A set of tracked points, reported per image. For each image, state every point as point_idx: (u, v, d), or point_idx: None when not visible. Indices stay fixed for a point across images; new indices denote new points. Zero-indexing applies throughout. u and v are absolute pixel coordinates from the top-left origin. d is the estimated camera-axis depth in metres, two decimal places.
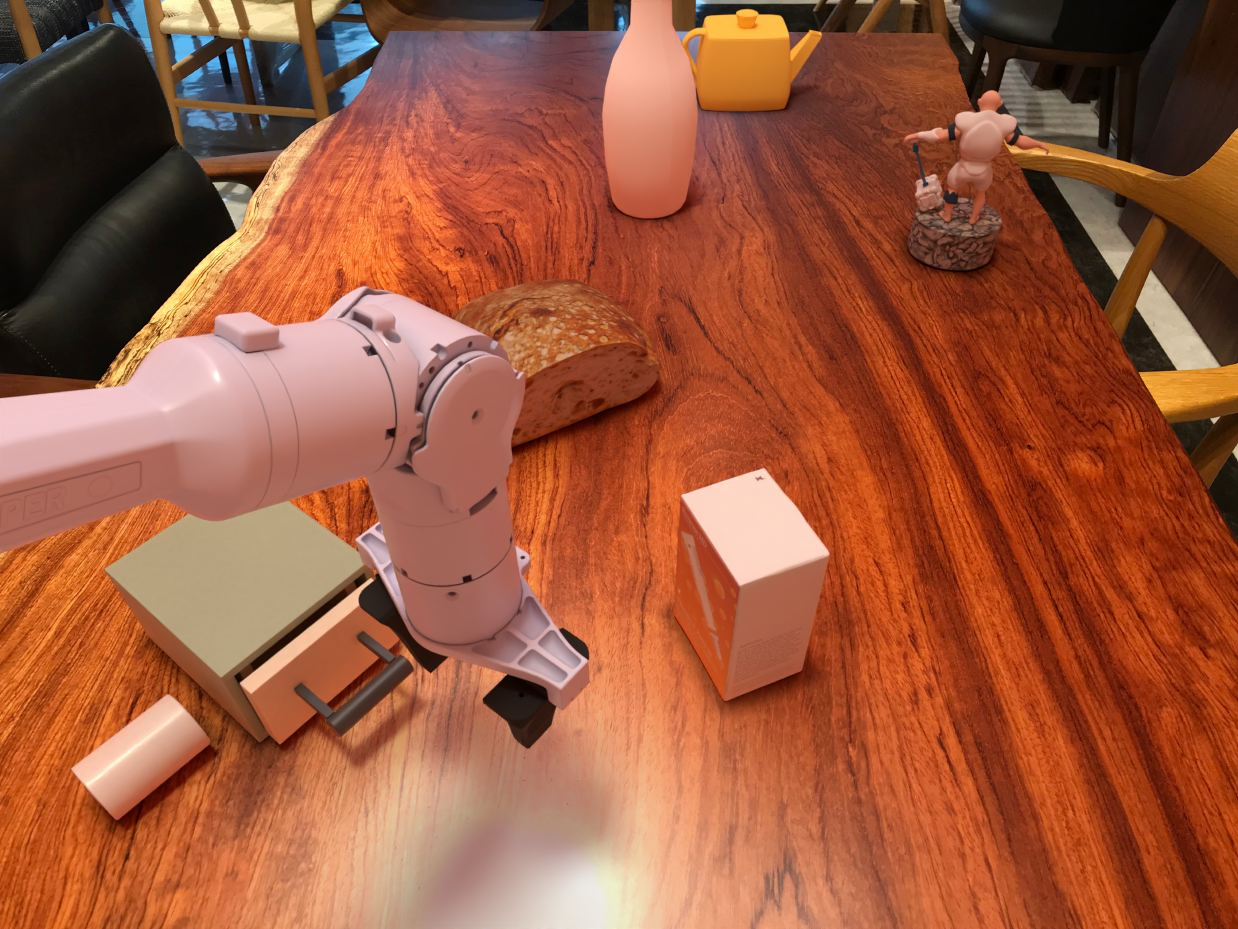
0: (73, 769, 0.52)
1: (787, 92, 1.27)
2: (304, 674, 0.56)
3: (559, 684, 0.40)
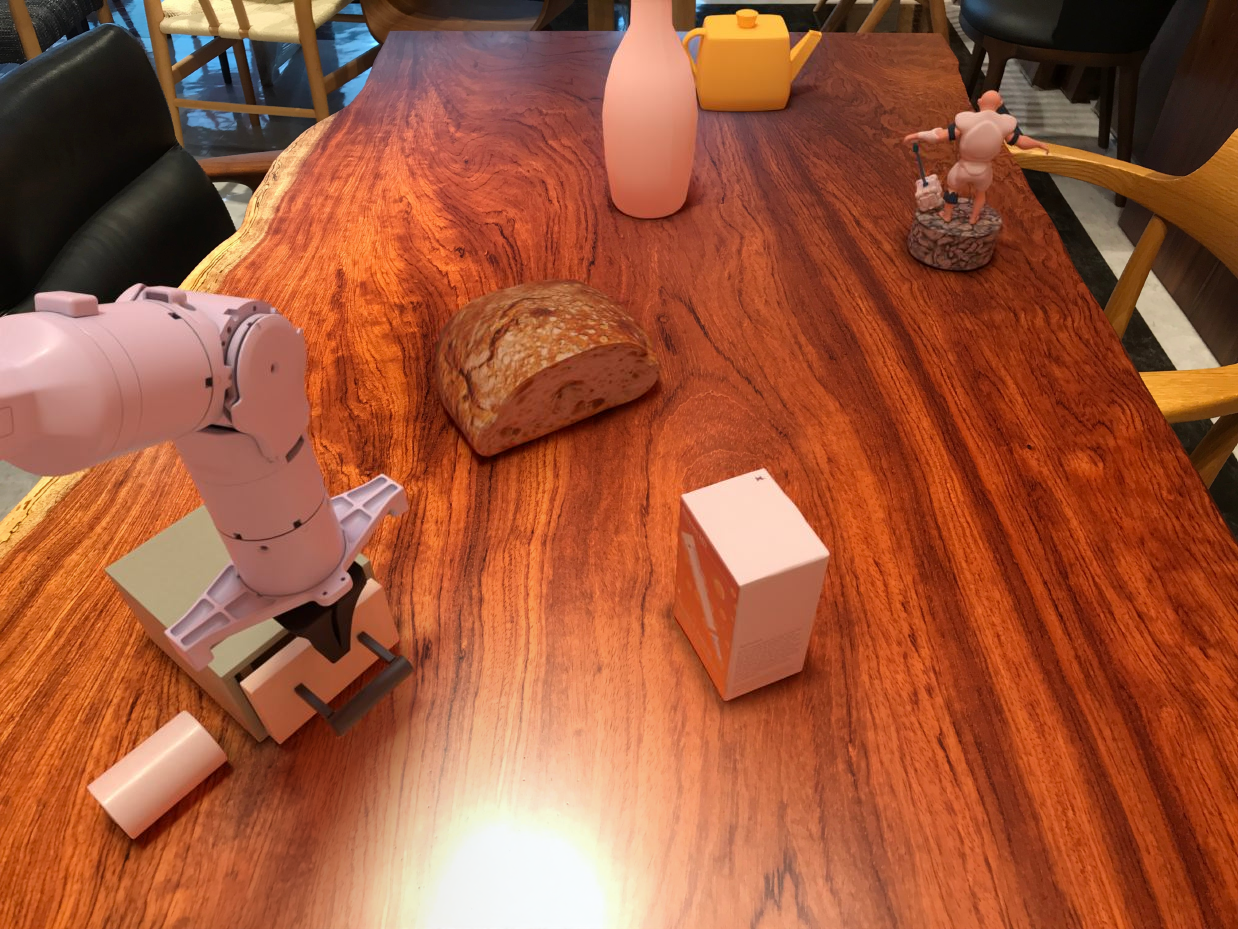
0: (104, 805, 0.51)
1: (787, 92, 1.27)
2: (304, 674, 0.56)
3: (169, 630, 0.45)
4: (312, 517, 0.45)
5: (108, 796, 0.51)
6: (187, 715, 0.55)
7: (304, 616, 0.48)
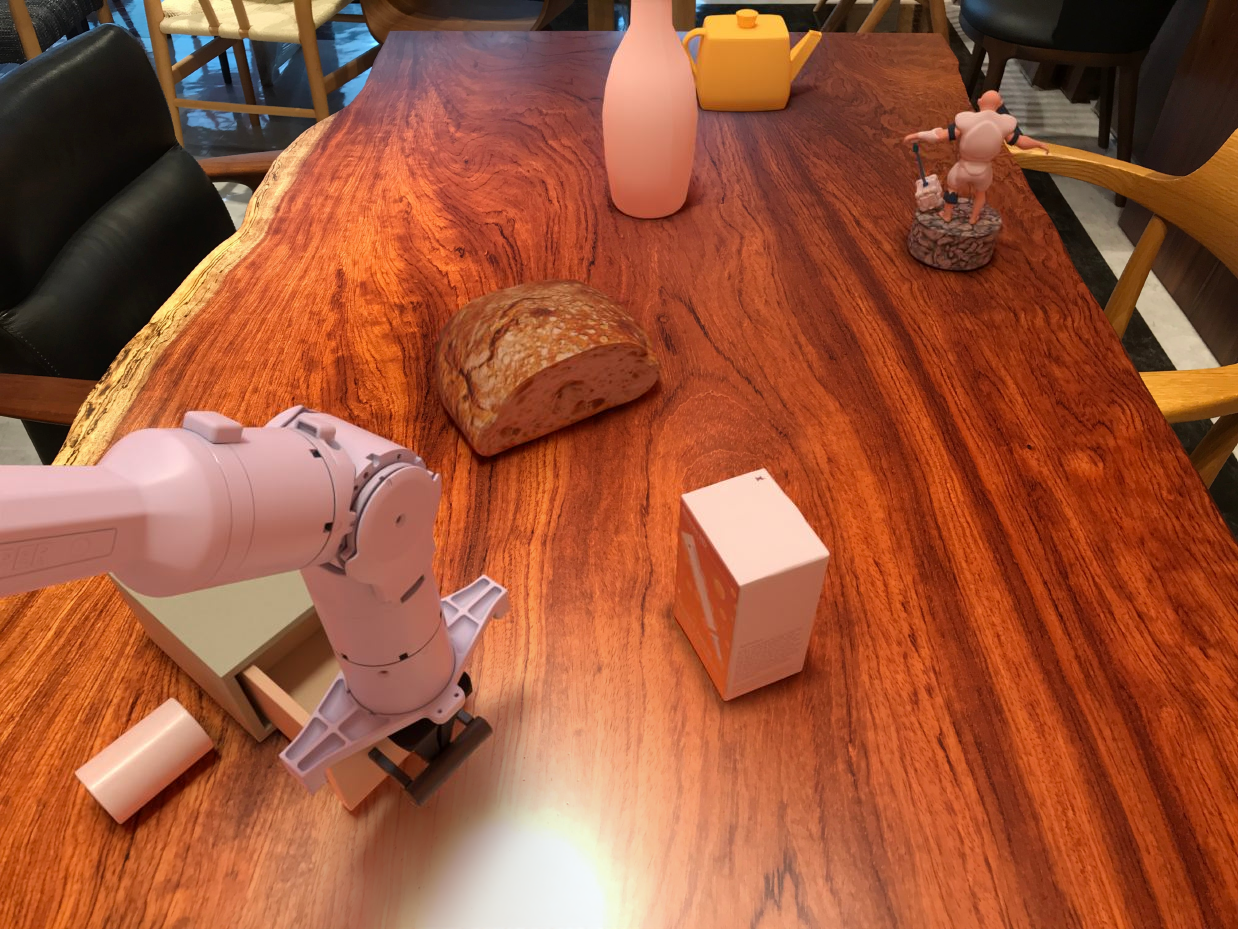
0: (78, 775, 0.52)
1: (787, 92, 1.27)
2: None
3: (283, 753, 0.44)
4: (432, 639, 0.43)
5: (84, 768, 0.52)
6: (168, 699, 0.56)
7: (414, 730, 0.47)
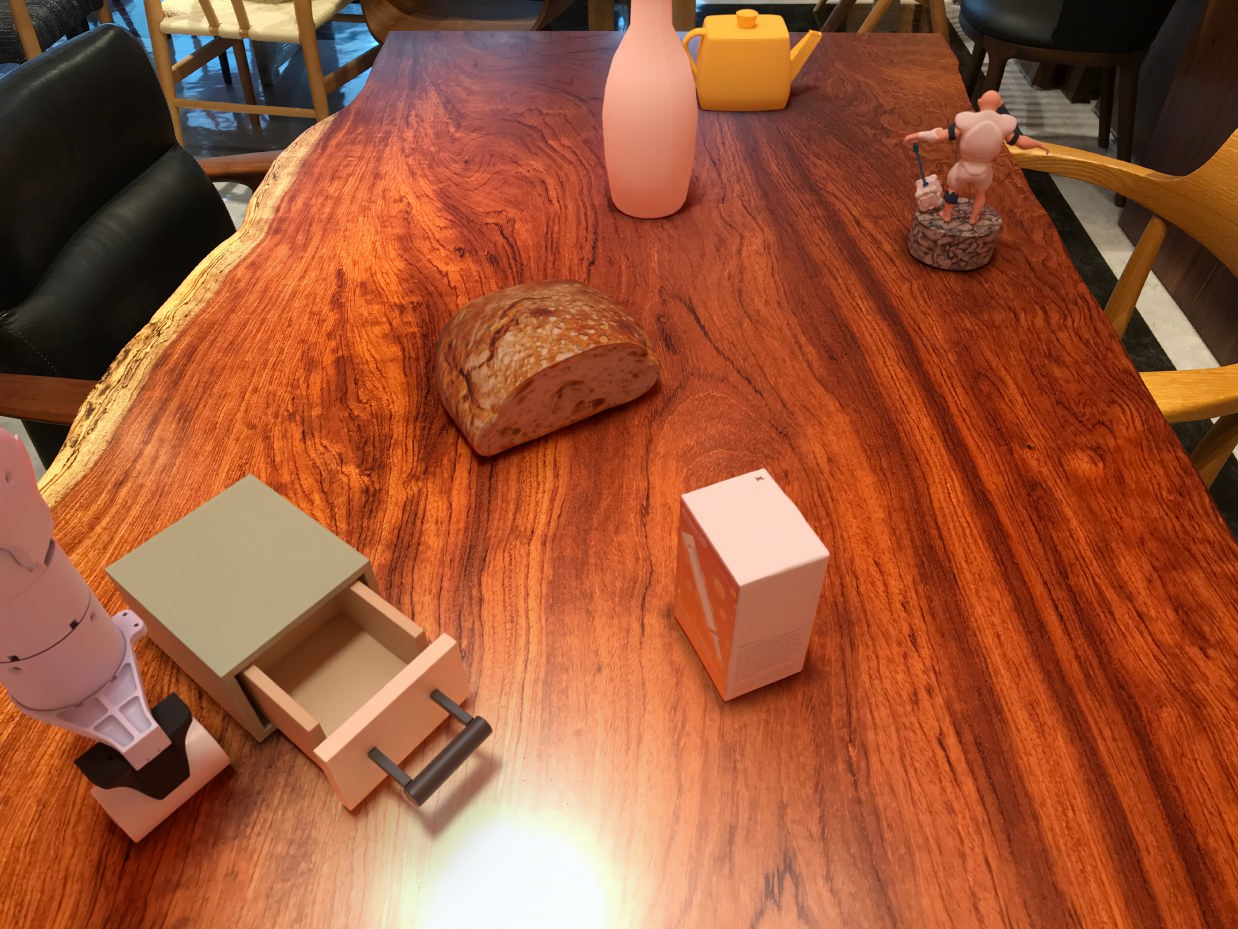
0: (111, 812, 0.51)
1: (787, 92, 1.27)
2: (377, 737, 0.52)
3: (123, 748, 0.44)
4: None
5: (115, 803, 0.51)
6: (193, 720, 0.54)
7: (173, 711, 0.48)
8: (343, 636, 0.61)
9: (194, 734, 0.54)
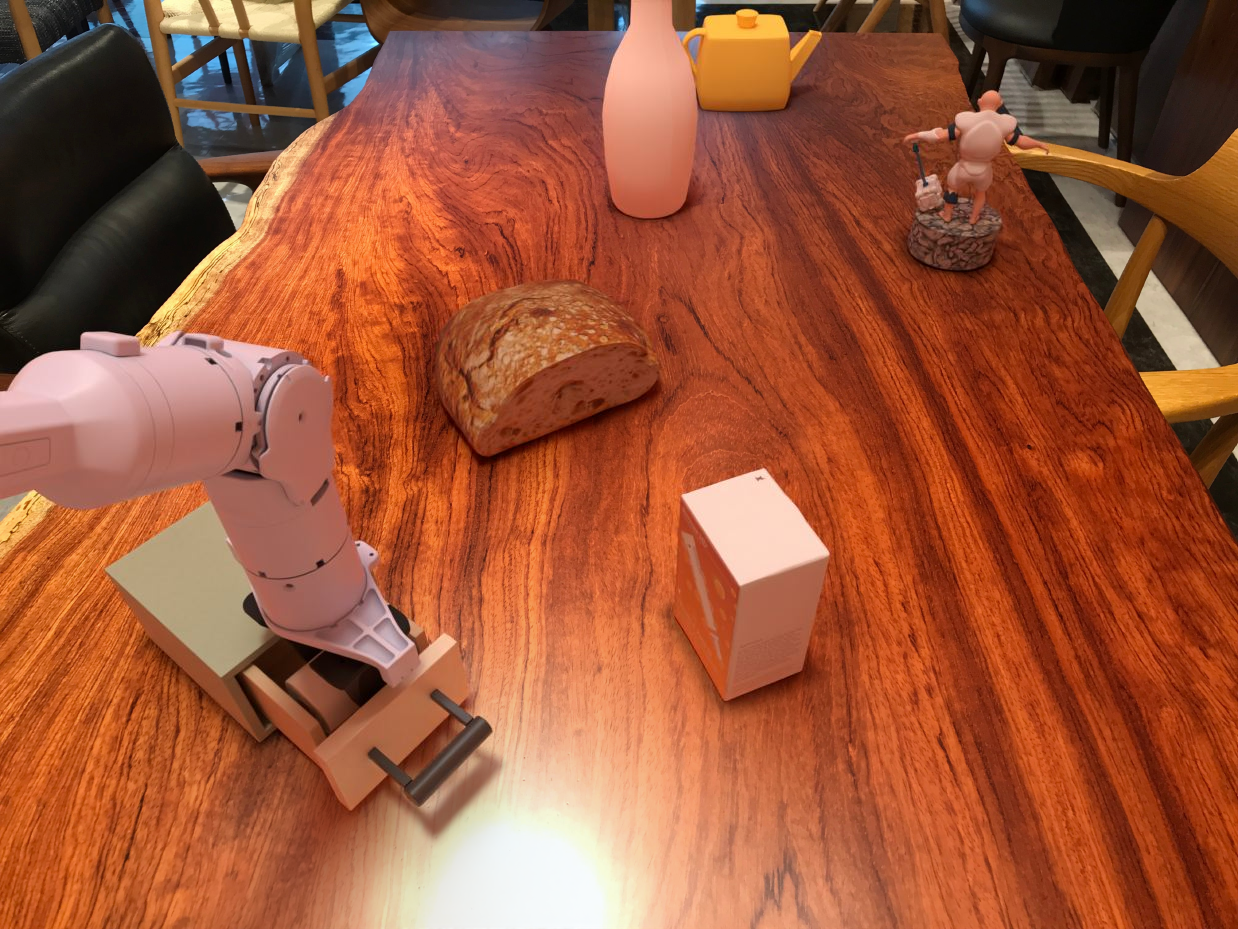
0: (328, 722, 0.53)
1: (787, 92, 1.27)
2: (377, 737, 0.52)
3: (386, 664, 0.46)
4: None
5: (332, 714, 0.53)
6: None
7: None
8: None
9: None
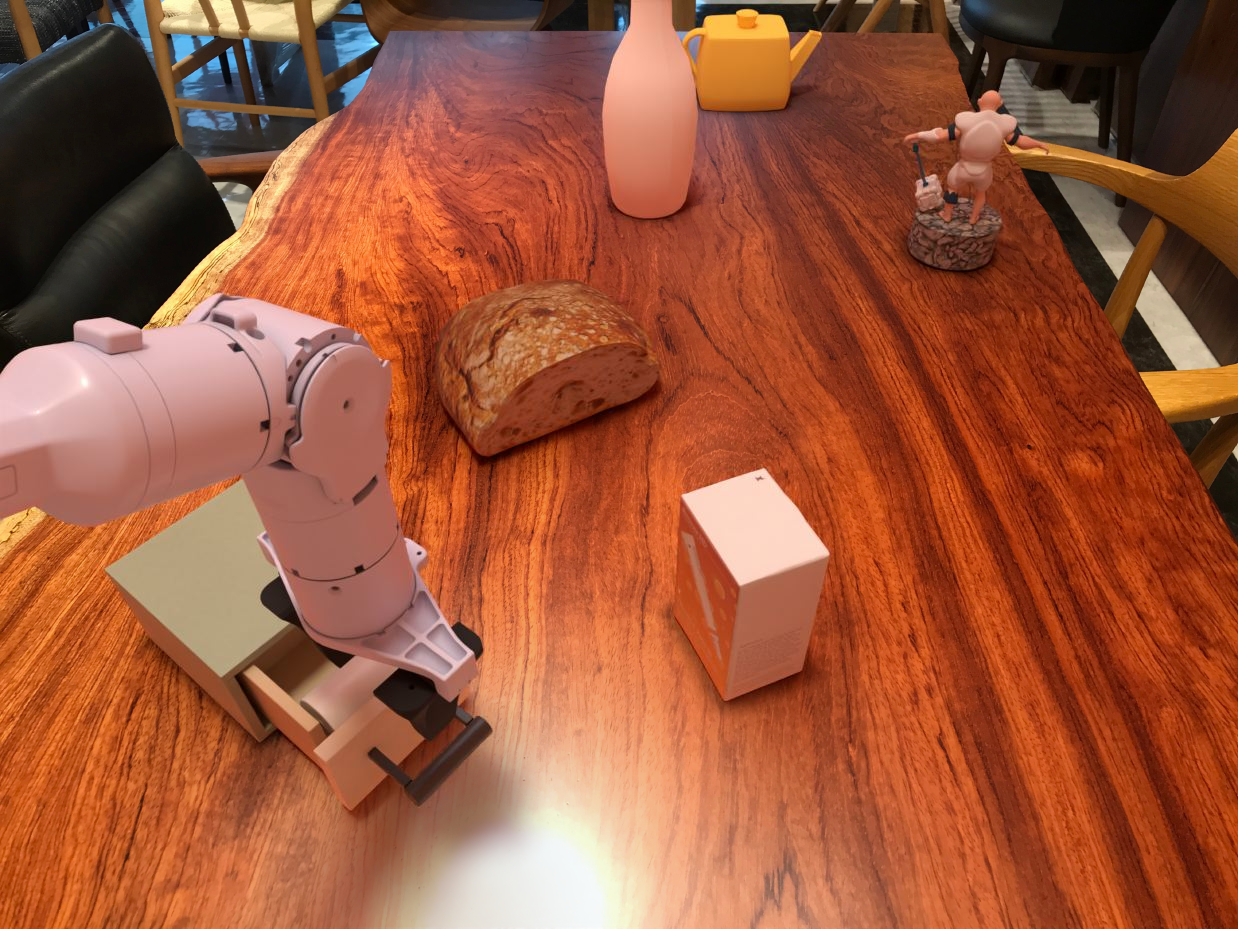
0: None
1: (787, 92, 1.27)
2: (377, 737, 0.52)
3: (443, 676, 0.41)
4: None
5: None
6: None
7: (464, 641, 0.45)
8: None
9: None
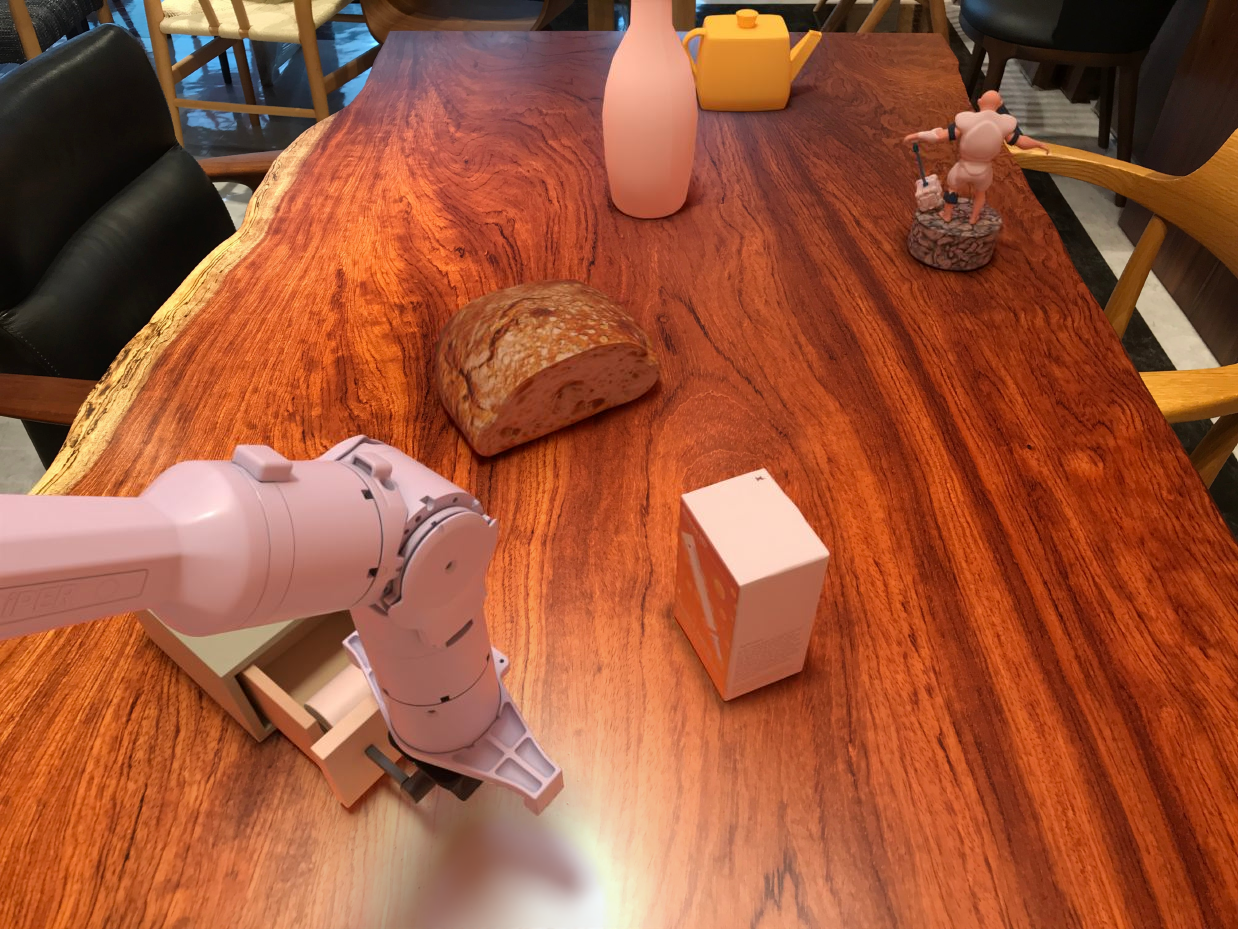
0: None
1: (787, 92, 1.27)
2: (375, 735, 0.52)
3: (534, 794, 0.42)
4: None
5: None
6: None
7: None
8: (341, 634, 0.61)
9: None
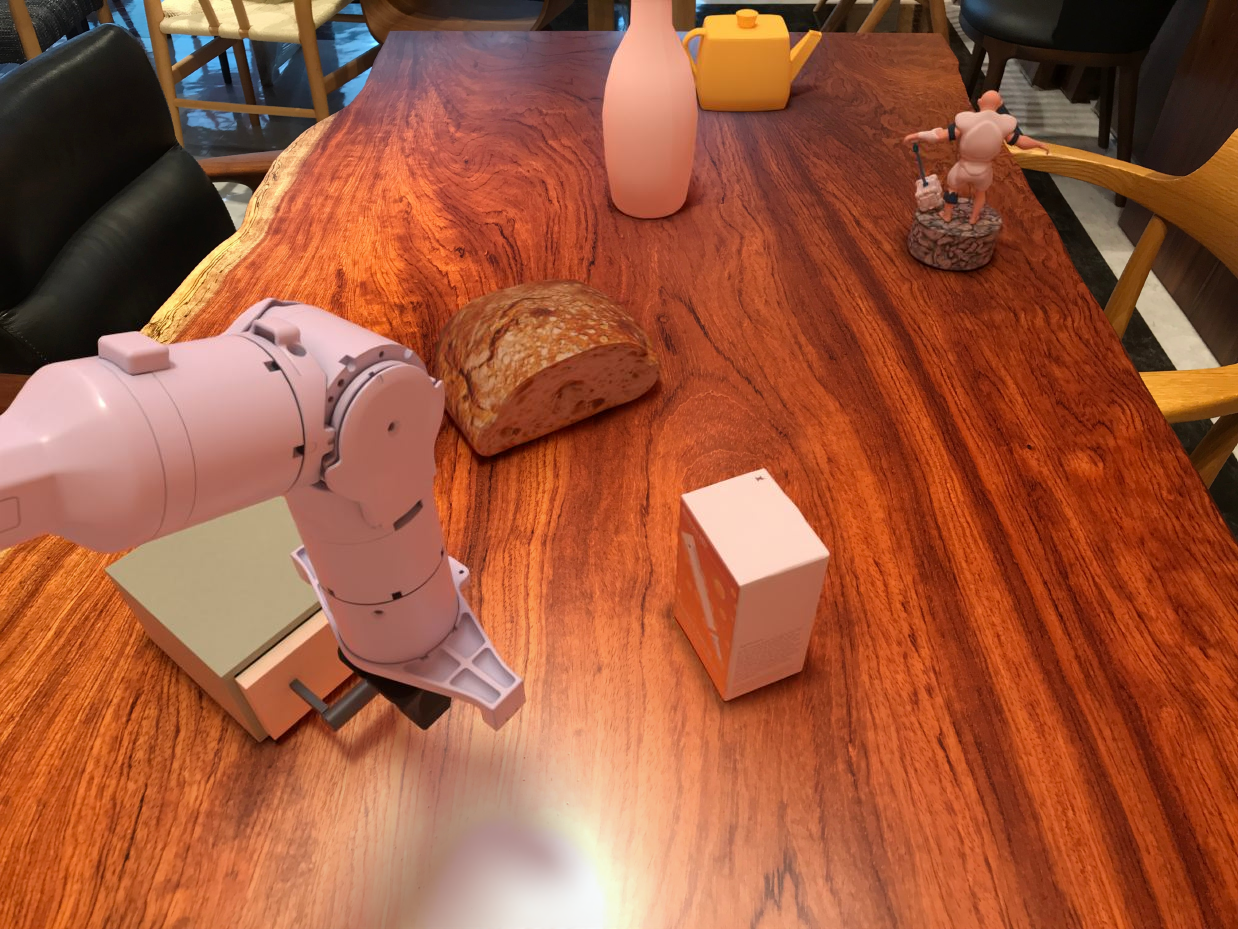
0: None
1: (787, 92, 1.27)
2: (299, 669, 0.56)
3: (491, 704, 0.39)
4: None
5: None
6: None
7: None
8: None
9: None
